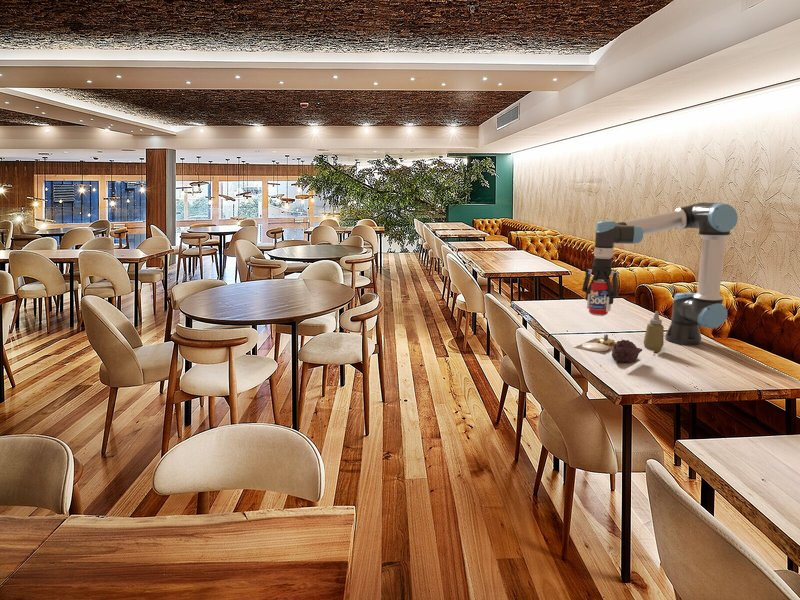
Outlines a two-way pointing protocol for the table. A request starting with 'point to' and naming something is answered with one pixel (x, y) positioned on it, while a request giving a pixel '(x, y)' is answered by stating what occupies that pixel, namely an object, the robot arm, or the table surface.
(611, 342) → the brass gear
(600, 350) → the ceramic plate
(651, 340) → the squeeze bottle
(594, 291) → the soda can
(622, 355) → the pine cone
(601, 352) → the gear board
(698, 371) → the table surface
